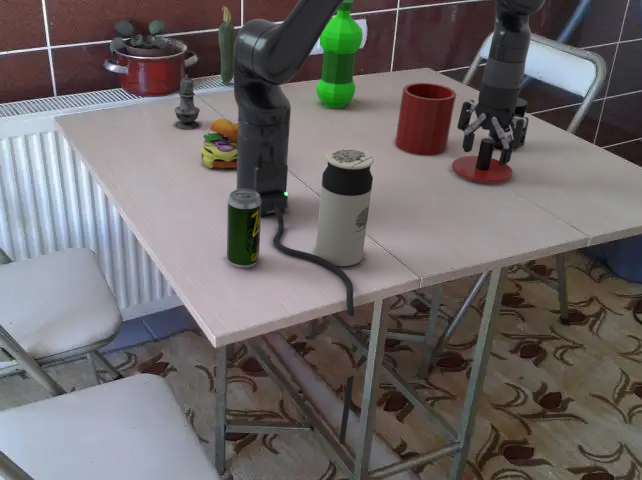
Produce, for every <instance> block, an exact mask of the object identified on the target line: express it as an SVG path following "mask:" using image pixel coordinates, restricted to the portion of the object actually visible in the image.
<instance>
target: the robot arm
mask: <svg viewBox="0 0 642 480" xmlns="http://www.w3.org/2000/svg"><path fill="white" fill-rule="evenodd" d="M343 1H344V0H298V1H297V3H296V5H295V6H294V7H293V8H292V10H291V11H290V13H289V14H288V15H287V17H286V18H285V19H284V21H282V23H281V24H279V23H278V24H277V23H275V22H272V21H270V20H267V19H263V18H253V19H251V20H248V21H247V22H246V23H244V24H243V25H242V26H241V28H240V29H239V31H238V33H237V35H236V36H235V45H234V52H233V74H234V75H233V95H234V100H235V103H236V105H237V109H238V110H237V111H238V112H237V113H238V115H237V123H238V147H237V167H236V190H237V189H251V190H254V191H256V192H258V193H259V194H260V199H261V217H262V216H268V215H273V214H274V215H276V218H277V225H278V226H277V228H278V229H277V232H276V234H275V235H274V237H273V240H272V242H273V245H274V247H275V248H277V250H279V251H280V252H282V253H285V254H287V255H290V256H293V257H298V258H304V259H306V260H310V261H313V262H315V263H318V264H320V265H321V266H324V267H325V268H328V269H329V270H331V271H333V273H335V274H336V275H338V277H339V278H341V280H342V281H343V283H344V284H345V287H346V309H347V310H346V311H347V315H348V316H350V317H353V316H355V309H354V308H355V307H354V285H353V282H352V280H351V279H350V277H349V276H348V275H347V274H346V273H345V272H344V271H343V270H342V269H341V268H339V266H335V265H334V264H332V263H330V262H328V261H326V260H324V259H322V258H320V257H318V256H316V254H313V253H310V252H306V251H303V250H302V251H301V250H297V249H293V248H290V247H287V246H285V245H283V244H282V243H281V242H280V239H281V238H282V236H283V233H284V229H285V226H284V225H285V223H284V216H283V213H284V212H286V209H287V208H288V192H287V189H288V188H287V187H288V169H289V166H288V165H289V164H288V159H289V142H290V126H291V113H292V112H291V111H292V105H291V102H290V100H289V99H288V97H287V96H286V95H285V93H284V92H283V89H282V87H281V85H285V84H287V83H288V82H290V81H291V80H292V79H294V78H295V76H296V75H297V74H298V73H299V72H300V70H301V69H302V67H303V66H304V64H305V63H306V61H307V60H308V58H309V56H310V55H311V53H312V51H313V50H314V48H315V46H316V45H317V43H318V41H319V40H320V36H321V34H322V32H323V31H324V29H325V27H326V26H327V24H328V23H329V21H330V20H331V19H332V18H334V15H335V14H337V10H338V8H339V7H340V5H341V4H342V2H343ZM545 2H546V0H495V4H494V21H493V22H494V25H493V27H494V28H493V35H492V38H491V42H490V47H489V51H488V55H487V59H486V63H485V65H484V69H483V74H482V77H481V78H482V79H481V84H480V88H479V93H478V97H477V98H478V99H477V101H478V103H476V102H475V100H474V99H469V100H467V101H464V102H462V106H461V110H460V114H459V118H458V122H457V129H458V130H461V131H462V132H463V141H462V145H461V146H462V147H461V148H462V149H463V152H464V153H467V154H468V153H470V152H472V151H473V147H474V142H475V137H476V134H475V132H476V131H478V130H479V129H480V128H481V129H482V130H484V131H488V132H489V131H491V132H493V133H497V134H498V137H499V139H501V141H502V143H503V146H504V148H502V150H500V156H499V159H498V160H499V165H501V166H503V165H505V164H509V163H510V161H511V157H512V155H513V151H514V150H517V149H519V148H521V147H523V146H524V145H525V142H526V136H527V132H528V126H529V120H530V119H529V117H527V116H524V118H520V117H516V116H515V108H516V105H517V101H518V98H520V94H521V93H520V92H521V88H522V84H523V82H524V75H525V70H526V62H527V57H528V53H529V48H530V45H531V40H532V32H531V29H530V25H529V21H530V16H531V15H534V14H536V13H537V12H538V11H540V9H542V7H543V6H544V4H545ZM474 112H475V115H476V119H475V120H473V121H472V122H471V123H470V121H471V118H472V114H473V113H474ZM512 122H513V123H514V128H515V134H514V138H513V131H512V128H511V126H510V124H511V123H512ZM504 129H505V132H504V131H503V130H504ZM354 377H355V374H352V375H351V376H348V377H347V379H346V386H345V387H346V388H345V396H344V403H343V410H342V415H341V416H342V418H341V424H340V430H339V431H340V432H339V439H338V443H339V444H340V445H344V444H345V443H346V437H347V429H348V423H349V421H348V420H349V414H350V410H351V409H350V407H351V401H352V395H353V387H354V379H355V378H354Z"/></svg>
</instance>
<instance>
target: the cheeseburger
mask: <svg viewBox="0 0 642 480" xmlns="http://www.w3.org/2000/svg"><path fill="white" fill-rule="evenodd" d="M209 130H210V131H212V133H211V132H207V133H206V134H203V136H202V137H203V139H204V140H203V142H202V145H203V146H201V148H200V152H201V153H200V154H201V159H202V162H203V164H204V165H205V167H206V168H208V169H213V168H223V169H224V168H226V169H227V168H237V147H238V122H237V123H233V122H232V121H230V120H229V119H226V118H221V117H219V118H217V119H215V120H214V121H213V122H212V123H211V124H210V126H209Z"/></svg>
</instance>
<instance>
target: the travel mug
mask: <svg viewBox="0 0 642 480" xmlns="http://www.w3.org/2000/svg"><path fill="white" fill-rule="evenodd" d="M325 159H326V161H327V166H326V168H325V169H324V171H323V172H322V177H321V178H322V179H321V187H320V188H321V189H320V199H319V210H318V211H319V212H318V220H317V221H318V222H317V234H316V242H315V243H316V244H315V255H316V256H318V257H320V258H322V259H324V260H326V261H328V262H330V263H332V264H334V265H335V266H337V267H349V266H353V265H356V264H359V263H360V262H361V261H362V259H363V256H364V248H365V242H366V233H367V225H368V218H369V212H370V211H369V210H370V203H371V196H372V190H373V189H372V188H373V180H374V177H373V174H372V172H371V167H372V165H373V163H374V161H375V159H374V156H373V155H372V154H370V152H367V151H365V150H362V149H359V148H353V147H352V148H351V147H339V148H333V149H331V150H330V151H328V152H327V153H326V154H325Z"/></svg>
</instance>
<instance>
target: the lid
mask: <svg viewBox="0 0 642 480" xmlns="http://www.w3.org/2000/svg"><path fill="white" fill-rule="evenodd" d="M494 146H495V140H493V139H490V138H488V137H483V138H481V140H480V143H479V149H478V153H477V155H465V156H460V157H458V158H455V159H454V160H453V161H452V164H451V169H452V171H453V172H454V173H455V174H457V175H458V176H460V177H462V178H464V179H467V180H470V181H473V182H479V183H486V184H487V183H488V184H497V183H503V182H506V181H509V180H510V179H511V178H512V177H513V173H514V170H513V169H512V167H511V166H510V165H508V163H506V164H505V165H503V166H501V165H499V160H500V159H496V158H493V154H494V150H495V148H494Z"/></svg>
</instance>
